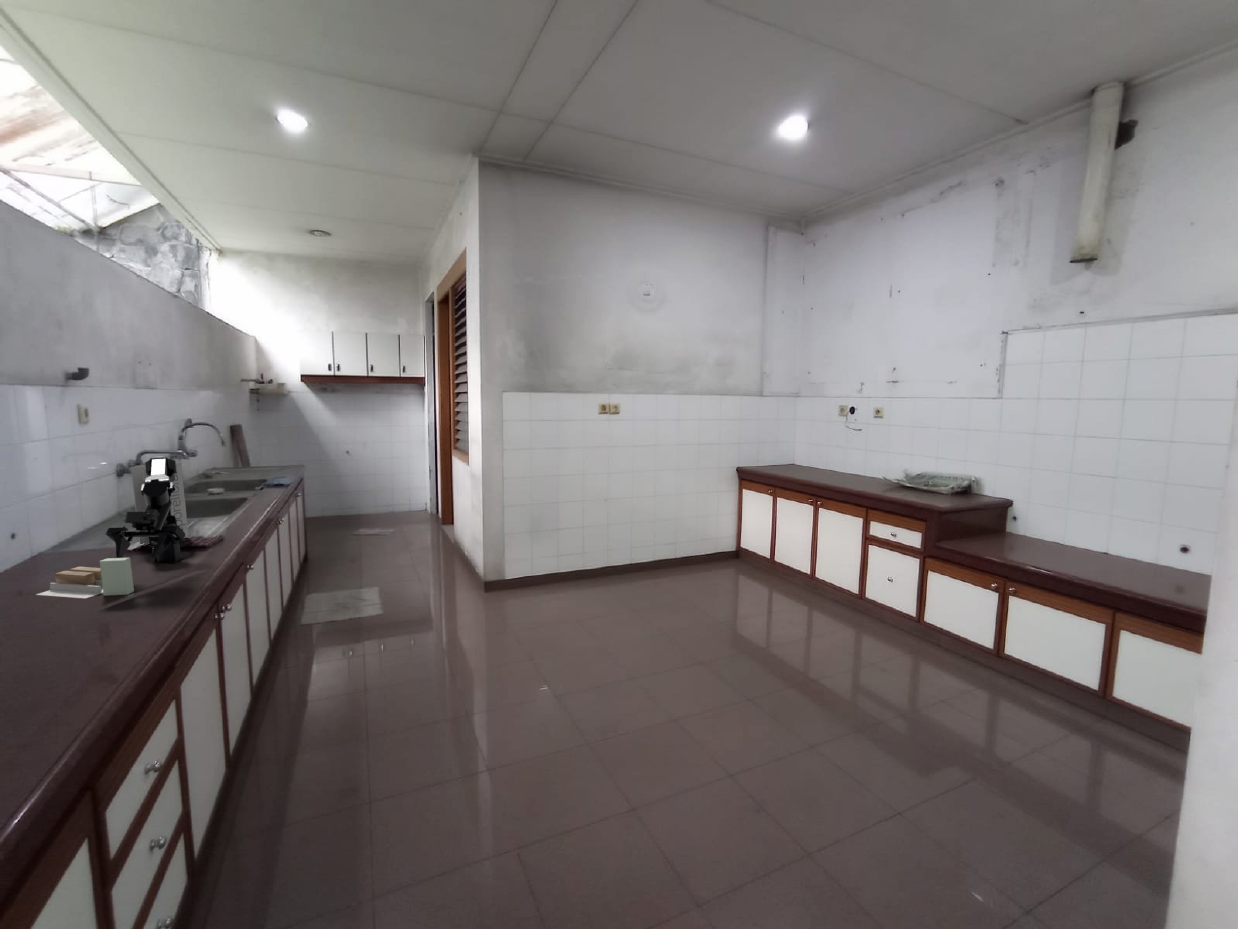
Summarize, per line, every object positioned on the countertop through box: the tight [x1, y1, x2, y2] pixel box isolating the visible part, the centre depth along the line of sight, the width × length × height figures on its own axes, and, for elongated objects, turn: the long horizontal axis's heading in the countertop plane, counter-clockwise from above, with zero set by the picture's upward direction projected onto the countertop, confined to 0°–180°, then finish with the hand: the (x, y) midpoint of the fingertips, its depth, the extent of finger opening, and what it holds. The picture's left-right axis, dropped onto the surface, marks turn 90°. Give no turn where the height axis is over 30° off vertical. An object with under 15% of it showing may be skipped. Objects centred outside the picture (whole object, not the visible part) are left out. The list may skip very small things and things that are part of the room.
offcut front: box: [69, 566, 102, 580], centre depth 165 cm, size 2×10×4 cm, turn 82°
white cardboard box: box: [130, 462, 190, 545], centre depth 209 cm, size 14×6×30 cm, turn 168°
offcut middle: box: [54, 570, 95, 586], centre depth 162 cm, size 2×10×4 cm, turn 82°
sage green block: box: [99, 557, 135, 598], centre depth 158 cm, size 2×6×11 cm, turn 100°
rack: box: [35, 580, 104, 599], centre depth 162 cm, size 13×16×3 cm
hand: (135, 558), depth 165 cm, fingers open, 9 cm apart
